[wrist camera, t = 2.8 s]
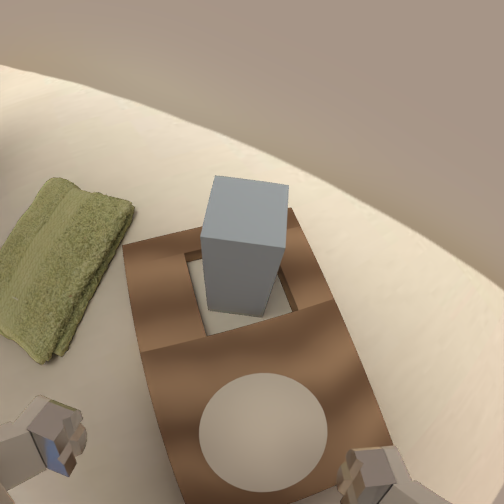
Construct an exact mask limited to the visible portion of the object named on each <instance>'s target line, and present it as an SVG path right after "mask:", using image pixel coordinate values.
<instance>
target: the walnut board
mask: <svg viewBox="0 0 504 504" xmlns="http://www.w3.org/2000/svg"><path fill="white" fill-rule="evenodd" d="M202 227H203V226H202ZM202 227H198V228H194V229H189V230H185V231H181V232H176V233H172V234H168V235H163V236H159V237H155V238H151V239H147V240H143V241H139V242H134V243H130V244H126V245H122V248H123V257H124V264H125V271H126V278H127V285H128V291H129V298H130V304H131V309H132V315H133V320H134V326H135V331H136V336H137V341H138V346H139V350H140V355H141V359H142V364H143V368H144V372H145V377H146V381H147V385H148V389H149V393H150V396H151V400H152V404H153V408H154V411H155V415H156V418H157V422H158V425H159V428H160V432H161V435H162V438H163V442H164V445H165V448H166V451H167V454H168V457H169V460H170V463H171V466H172V469H173V472H174V474H175V477H176V480H177V483H178V486H179V488H180V491H181V494H182V496H183V499H184V501H185V504H290V503H292V502H295V501H298V500H301V499H303V498H306V497H308V496H311V495H313V494H316V493H318V492H321V491H323V490H326V489H328V488H330V487H332V486H335V485H337V483H336V478H337V472H338V469H339V467H340V465H341V464H343V463H344V462H346V458H345V456H346V454H347V452H348V451H349V450H350V449H354V448H369V447H383V446H393V443H392V440H391V438H390V435H389V432H388V429H387V427H386V424H385V421H384V419H383V416H382V413H381V411H380V408H379V406H378V403H377V400H376V398H375V395H374V393H373V390H372V388H371V385H370V383H369V380H368V378H367V375H366V373H365V370H364V368H363V365H362V363H361V360H360V358H359V356H358V353H357V351H356V348H355V346H354V344H353V341H352V339H351V337H350V334H349V332H348V330H347V327H346V325H345V323H344V320H343V318H342V316H341V313H340V311H339V309H338V307H337V304H336V302H335V300H334V298H333V295H332V293H331V291H330V289H329V286H328V284H327V282H326V280H325V278H324V275H323V273H322V271H321V269H320V267H319V264H318V262H317V260H316V258H315V256H314V254H313V252H312V250H311V247H310V245H309V243H308V241H307V239H306V237H305V235H304V233H303V231H302V229H301V226H300V224H299V222H298V220H297V218H296V216H295V214H294V212H293V210H292V208H288V211H287V230H286V247H285V251H284V254H283V257H282V260H281V263H280V266H279V269H278V272H277V274H278V276H279V279H280V281H281V284H282V286H283V289H284V291H285V294H286V296H287V299H288V301H289V304H290V306H291V309H292V312H291V313H288V314H285V315H281V316H278V317H275V318H271V319H268V320H264V321H261V322H258V323H254V324H251V325H247V326H244V327H240V328H236V329H233V330H229V331H225V332H222V333H218V334H214V335H210V336H207V337H206V333H205V330H204V326H203V323H202V319H201V316H200V312H199V309H198V305H197V301H196V298H195V294H194V290H193V287H192V283H191V279H190V275H189V271H188V267H187V263H186V262H189V261H193V260H197V259H202V250H201V240H200V235H201V231H202ZM256 373H272V374H278V375H282V376H286V377H288V378H291V379H293V380H295V381H297V382H299V383H300V384H302V385H303V386H305V387H306V388H307V389H308V390H309V391H310V392H311V393H312V394H313V395H314V396H315V397H316V398H317V400H318V402H319V403H320V405H321V407H322V409H323V411H324V414H325V417H326V422H327V442H326V446H325V450H324V452H323V455H322V457H321V459H320V461H319V462H318V464H317V465H316V466H315V468H314V469H313V470H312V471H311V472H310V473H309V474H308V475H307V476H306V477H305V478H303V479H302V480H301V481H299V482H298V483H296V484H294V485H292V486H290V487H287V488H285V489H281V490H278V491H272V492H253V491H247V490H243V489H240V488H238V487H235V486H233V485H231V484H229V483H227V482H226V481H224V480H223V479H222V478H220V477H219V476H218V475H217V474H216V473H215V472H214V471H213V470H212V468H211V467H210V466H209V464H208V463H207V461H206V459H205V457H204V455H203V453H202V450H201V446H200V440H199V426H200V420H201V417H202V414H203V411H204V409H205V407H206V405H207V404H208V402H209V401H210V399H211V398H212V397H213V396H214V394H215V393H216V392H217V391H218V390H220V389H221V388H222V387H223V386H225V385H226V384H228V383H229V382H231V381H233V380H235V379H237V378H240V377H242V376H246V375H250V374H256Z"/></svg>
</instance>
